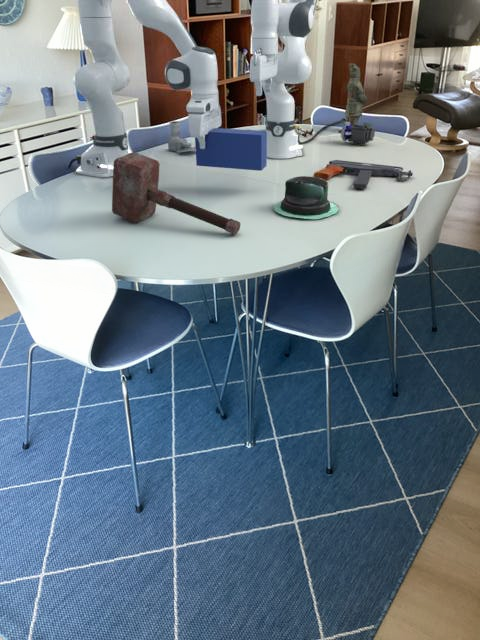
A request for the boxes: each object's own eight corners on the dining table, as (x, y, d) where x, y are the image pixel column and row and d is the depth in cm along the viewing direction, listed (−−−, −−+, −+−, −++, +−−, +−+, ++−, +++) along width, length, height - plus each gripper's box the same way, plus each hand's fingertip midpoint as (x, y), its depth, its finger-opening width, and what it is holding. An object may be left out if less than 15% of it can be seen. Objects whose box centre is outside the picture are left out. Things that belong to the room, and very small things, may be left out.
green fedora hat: (344, 197, 179) (337, 220, 163) (293, 220, 188) (282, 244, 171) (324, 156, 174) (314, 175, 157) (272, 181, 182) (259, 202, 166)
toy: (345, 120, 249) (377, 123, 242) (343, 139, 253) (375, 143, 246) (337, 123, 243) (369, 127, 236) (336, 143, 247) (367, 147, 240)
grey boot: (176, 119, 242) (200, 124, 233) (178, 147, 248) (202, 152, 239) (161, 122, 236) (185, 127, 227) (163, 150, 242) (187, 156, 234)
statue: (367, 132, 266) (374, 63, 251) (349, 133, 264) (355, 64, 249) (357, 127, 275) (362, 61, 260) (339, 129, 273) (344, 62, 258)
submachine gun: (306, 175, 196) (332, 158, 214) (306, 183, 197) (332, 166, 216) (396, 187, 182) (415, 168, 201) (395, 195, 183) (414, 175, 202)
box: (196, 165, 189) (194, 130, 183) (203, 161, 194) (201, 127, 188) (261, 170, 182) (261, 134, 177) (266, 166, 187) (266, 130, 181)
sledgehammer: (250, 194, 153) (132, 150, 165) (234, 205, 146) (112, 158, 158) (240, 249, 164) (129, 203, 175) (224, 261, 156) (110, 213, 168)
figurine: (302, 128, 254) (260, 115, 266) (300, 145, 258) (258, 131, 270) (318, 123, 263) (276, 111, 275) (315, 139, 267) (274, 127, 279)
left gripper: (208, 97, 190) (209, 138, 197) (183, 107, 173) (186, 152, 180) (225, 97, 188) (226, 139, 195) (202, 108, 171) (204, 153, 178)
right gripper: (264, 50, 170) (263, 98, 176) (281, 46, 187) (280, 90, 193) (244, 49, 172) (244, 97, 178) (263, 46, 188) (262, 90, 195)
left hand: (207, 145), depth 187 cm, fingers closed on box, 6 cm apart
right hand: (263, 94), depth 186 cm, fingers open, 8 cm apart
